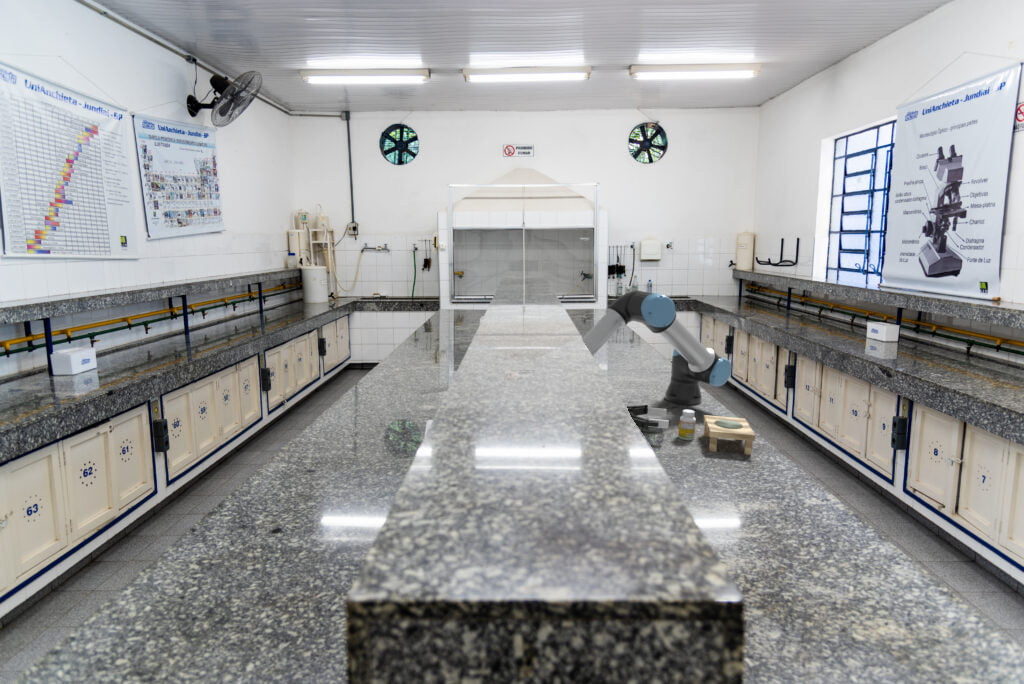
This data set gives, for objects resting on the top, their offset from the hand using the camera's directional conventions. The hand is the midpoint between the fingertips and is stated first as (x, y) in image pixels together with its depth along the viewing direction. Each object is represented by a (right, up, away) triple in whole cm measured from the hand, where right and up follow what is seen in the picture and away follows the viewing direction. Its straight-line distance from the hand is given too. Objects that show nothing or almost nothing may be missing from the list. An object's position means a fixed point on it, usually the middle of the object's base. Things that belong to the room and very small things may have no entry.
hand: (667, 418), depth 215 cm
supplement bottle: (+7, -7, 0) cm, 10 cm away
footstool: (+19, -8, -5) cm, 21 cm away
